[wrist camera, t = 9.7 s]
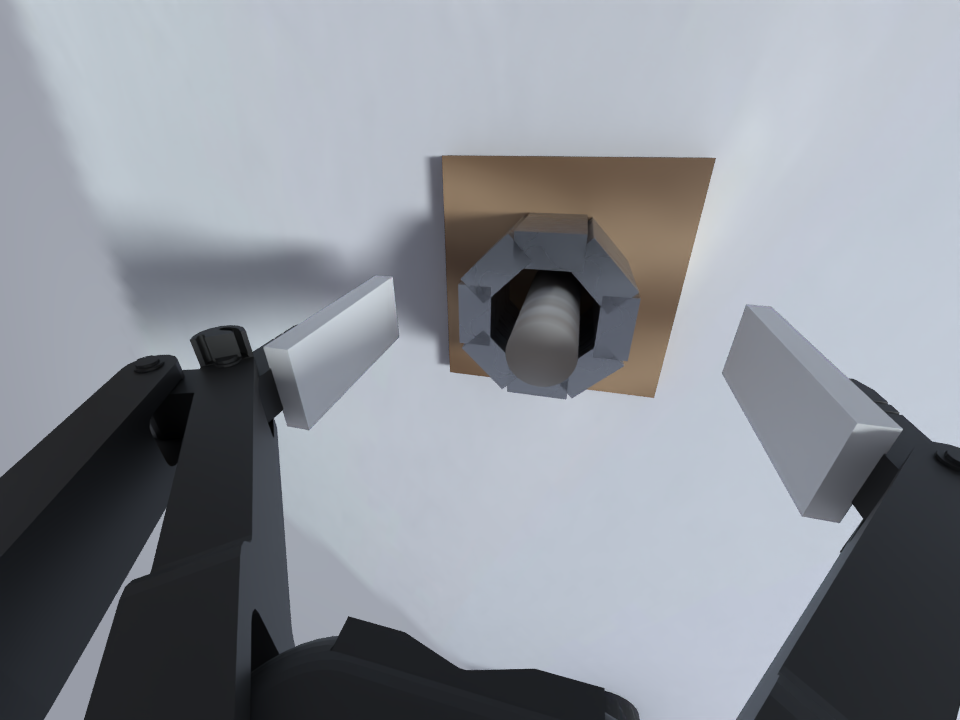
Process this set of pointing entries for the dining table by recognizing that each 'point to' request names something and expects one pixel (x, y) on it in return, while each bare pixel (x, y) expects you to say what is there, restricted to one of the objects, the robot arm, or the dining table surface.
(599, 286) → the ring
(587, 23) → the dining table surface
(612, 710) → the travel mug
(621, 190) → the shaft stand
